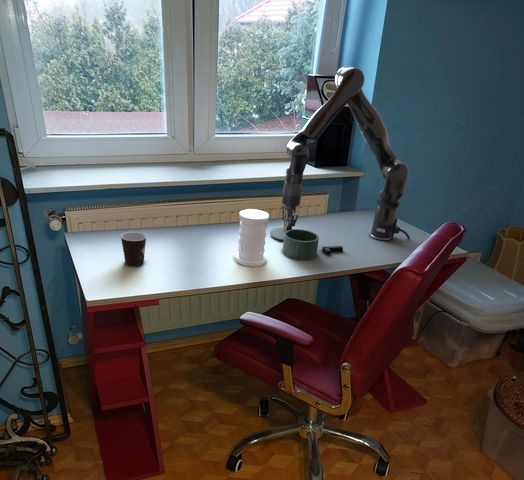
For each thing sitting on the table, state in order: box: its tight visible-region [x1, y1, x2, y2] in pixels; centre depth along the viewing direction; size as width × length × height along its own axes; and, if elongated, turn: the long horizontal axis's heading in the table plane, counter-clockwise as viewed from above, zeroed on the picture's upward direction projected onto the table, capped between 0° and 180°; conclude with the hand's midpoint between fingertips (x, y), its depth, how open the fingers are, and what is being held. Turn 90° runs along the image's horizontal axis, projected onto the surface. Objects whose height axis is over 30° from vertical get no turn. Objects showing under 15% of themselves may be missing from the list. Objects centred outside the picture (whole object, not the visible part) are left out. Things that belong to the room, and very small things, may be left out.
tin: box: [282, 228, 320, 261], centre depth 211 cm, size 14×14×8 cm
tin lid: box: [269, 222, 287, 242], centre depth 225 cm, size 15×15×6 cm
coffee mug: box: [120, 231, 147, 268], centre depth 189 cm, size 12×9×10 cm
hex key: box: [321, 245, 344, 256], centre depth 216 cm, size 8×5×2 cm, turn 107°
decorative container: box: [234, 208, 270, 267], centre depth 197 cm, size 12×12×18 cm
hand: (287, 232), depth 226 cm, fingers closed on tin lid, 2 cm apart
